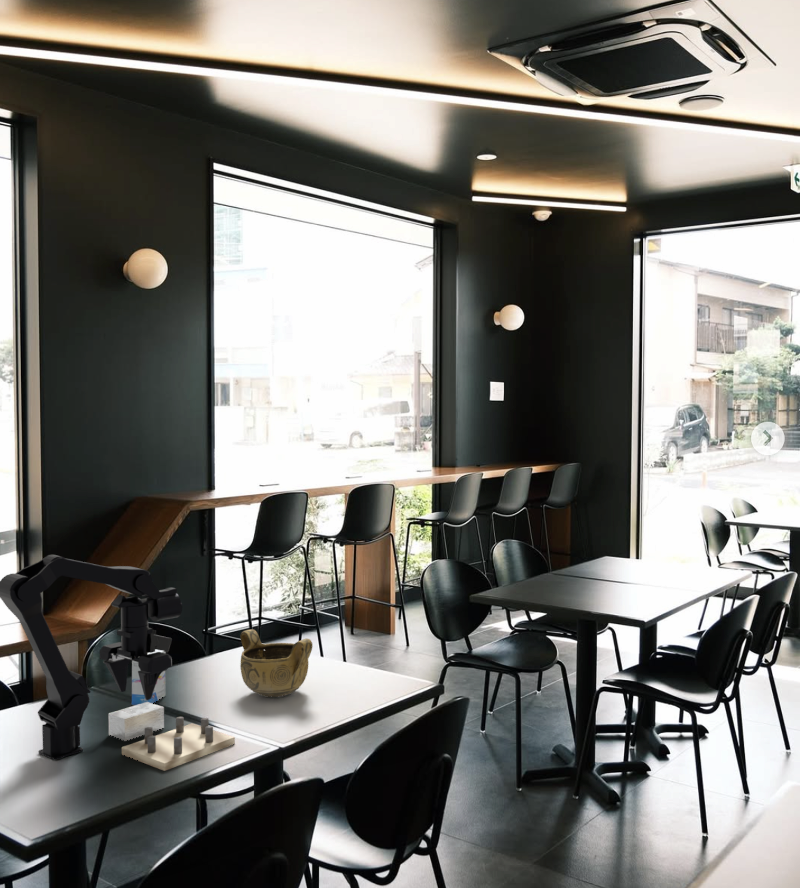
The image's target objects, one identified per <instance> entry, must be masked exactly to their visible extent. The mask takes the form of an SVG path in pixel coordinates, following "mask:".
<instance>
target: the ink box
mask: <svg viewBox="0 0 800 888" xmlns="http://www.w3.org/2000/svg"><path fill="white" fill-rule="evenodd" d="M156 652H161V653H165V654H167V652H164V651H163V650H156V649H155V652H152V653H156ZM152 653H150V652H149V653H148V654H152ZM148 654H147V655H148ZM138 671H141V670H140V668H139V666H138V662H136V661H133V660H131V705H132V706H135V705H138V704H142V703H145V702H150V703H154V702H155V703H157V702H159V701H160V700H161V699H163V698H164V697H166V671H163V672H162V673H161V674H160V675H159V677H158V680H157V682H156V685H155V688H154V691H153V694H152V697H151V699H150V700H146V699H145V696H144V693H143V689H142V685H141V681H140V678H139V674H138ZM162 697H163V698H162ZM159 699H160V700H159ZM156 701H157V702H156ZM155 703H154V704H155Z"/></svg>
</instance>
